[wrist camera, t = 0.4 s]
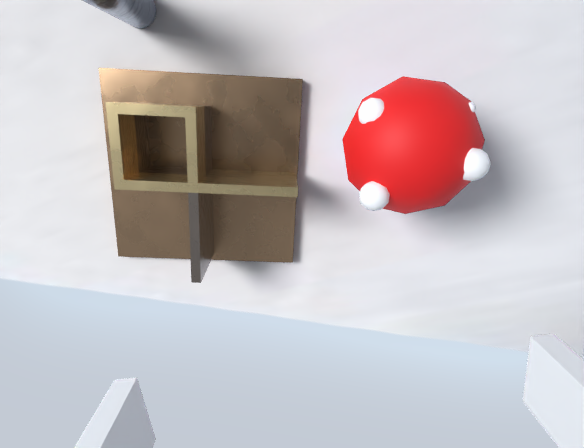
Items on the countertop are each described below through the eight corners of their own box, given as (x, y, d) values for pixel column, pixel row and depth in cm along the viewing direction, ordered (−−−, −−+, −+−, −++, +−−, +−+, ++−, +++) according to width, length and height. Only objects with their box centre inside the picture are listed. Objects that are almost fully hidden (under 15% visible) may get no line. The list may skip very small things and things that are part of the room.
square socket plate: (103, 68, 33) (55, 59, 26) (302, 79, 34) (307, 74, 27) (122, 252, 39) (86, 286, 32) (292, 258, 40) (294, 292, 33)
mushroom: (312, 167, 37) (325, 196, 25) (364, 58, 34) (407, 36, 22) (404, 210, 38) (455, 255, 27) (462, 110, 35) (547, 114, 24)
